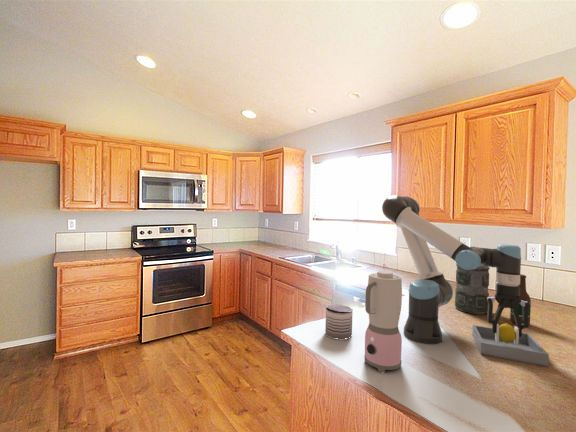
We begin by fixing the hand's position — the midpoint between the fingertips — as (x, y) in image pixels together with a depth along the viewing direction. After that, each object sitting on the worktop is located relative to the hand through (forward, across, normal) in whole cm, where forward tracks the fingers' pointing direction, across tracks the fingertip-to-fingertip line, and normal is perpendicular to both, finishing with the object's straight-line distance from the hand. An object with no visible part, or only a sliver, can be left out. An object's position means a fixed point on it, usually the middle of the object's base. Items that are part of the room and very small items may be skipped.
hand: (506, 342), depth 116 cm
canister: (+3, -5, +50) cm, 50 cm away
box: (+3, 0, 0) cm, 3 cm away
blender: (+3, -44, -36) cm, 57 cm away
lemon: (+1, 0, 0) cm, 1 cm away
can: (+3, -63, -17) cm, 65 cm away
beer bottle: (+3, +14, +38) cm, 41 cm away
